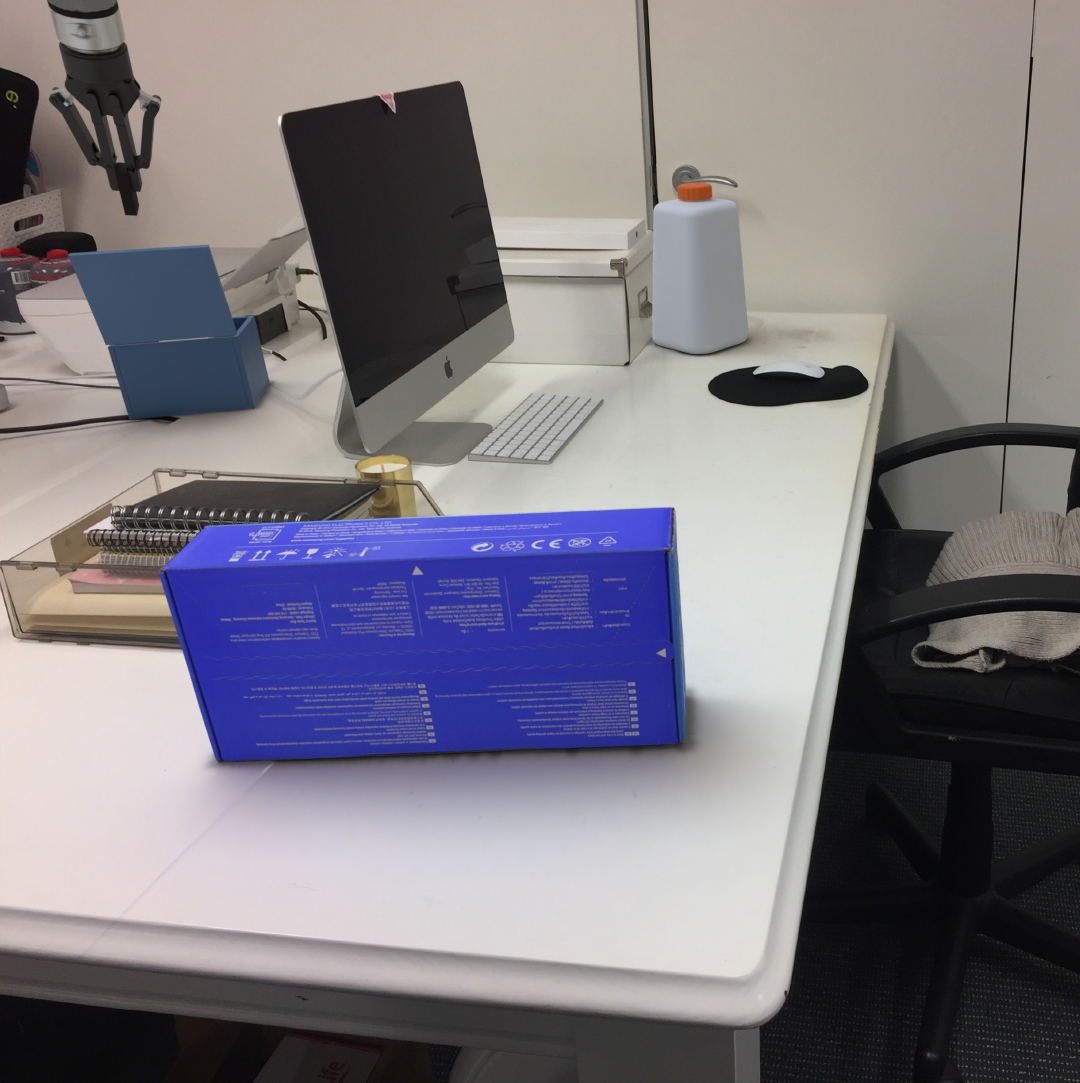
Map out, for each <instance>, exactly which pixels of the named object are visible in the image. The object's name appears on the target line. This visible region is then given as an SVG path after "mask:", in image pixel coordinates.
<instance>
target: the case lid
mask: <svg viewBox="0 0 1080 1083" xmlns="http://www.w3.org/2000/svg"><path fill="white" fill-rule="evenodd" d="M68 258H69V261H70V263H71V266H72V268H73V270H74V272H75V275H76V277H77V280H78V283H79V285H80V287H81V289H82V292H83V294H84V297H85V299H86V301H87V303H88V306H89V308H90V311H91V313H92V315H93V318H94V320H95V323H96V325H97V328H98V330H99V333H100V335H101V337H102V339H103V342H104V344H105V346H110V345H116V344H128V343H141V342H154V341H167V340H180V339H193V338H206V337H219V336H232V335H236V334H237V331H236V328H235V325H234V322H233V319H232V317H233V315H232V312H231V309H230V306H229V303H228V300H227V297H226V294H225V290H224V288H223V286H222V282H221V278H220V276H219V272H218V269H217V266H216V262H215V260H214V257H213V254H212V251H211V248H210V244H197V245H196V244H195V245H181V246H180V245H178V246H166V247H165V246H162V247H148V248H132V249H131V248H130V249H117V250H116V249H115V250H100V251H99V250H98V251H86V252H84V251H83V252H72V253H71V252H70V253H69V254H68Z"/></svg>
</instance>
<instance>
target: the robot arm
mask: <svg viewBox="0 0 1080 1083" xmlns="http://www.w3.org/2000/svg"><path fill="white" fill-rule="evenodd" d="M46 2H47V5H48V9H49V14H50V17H51V22H52V24H53V28H54V31H55V36H56V38H57V40H58V41H59V43H58V49H59V52H60V56H61V60H62V63H63V68H64V71H65V75H66V76H65V81H64V84H63V85H62V86H61V87H57V86H54V87H52V89H51V91H50V94H49V97H48V101H49V103H50V104H51V105H52V106H53V107H54V108H55V109H56V110H57V111H58V112H59V113H60V114H61V116H62V117H63V119H64V121H65V123H66V124H67V126H68V128H69V130H70V132H71V134H72V135H73V137H74V139H75V141H76V143H77V144H78V146H79V148H80V150H81V152H82V154H83V156H84V157H85V160H86V162H87V163H88V164H89V165H90V166H92V167H97V166H98V167H100V168H103V169H104V170H105V172H106V176H107V180H108V184H109V188H110V189H111V191H113V192H119V195H120V200H121V204H122V208H123V212H124V216H129V217H130V216H133V217H137V216H138V214H139V208H140V202H139V197H138V194H137V193H141V192H142V187H143V180H142V174H141V171H140V170H141V169H144V170H147V169H149V168H150V166H151V162H152V158H153V144H154V132H155V119H156V118H157V115H158V114H159V112H160V109H161V104H162V98H161V96H159V95H157V94H153V95H151V94H149V93H147V92H145V91H144V90H142V88H141V85H140V83H139V81H137V79H136V78H135V76H134V71H133V67H132V62H131V57H130V52H129V47H128V45H127V43H126V42H125V41H126V33H125V28H124V24H123V20H122V19H123V18H122V15H121V10H120V6H119V2H118V0H46ZM74 100H76V101H77V102H78V103H79V104H80V105H81V106H82V107H83V108H84V109H85V110H87V111H88V112H89V115H90V120H91V123H92V124H93V127H94V131H95V135H96V139H97V143H98V145H97V143H96V141H95V140H94V138H93V137H94V136H92V134H91V132H90V130H89V129H88V126H87V124H86V123H85V121H84V119H83V116H82V115H81V113H80V112H79V109H78V108H77V106H76V104H75V103H74ZM137 101H138V102H139V109H140V110H141V111H142V112H143V117H142V125H141V139H140V154H137V149H136V145H135V140H134V136H133V132H132V128H131V122H130V119H129V112H130V111H131V110H132V108H133V106H134V105H135V103H136V102H137ZM108 116H109V117H112V119H113V124H114V126H115V129H116V132H117V138H118V141H119V145H120V149H121V153H122V158H123V162H121V161H120V162H119V161H117V160H118V155H117V154H116V149H115V146H114V142H113V137H112V133H111V129H110V124H109V121H108V120H109V119H108Z"/></svg>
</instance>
